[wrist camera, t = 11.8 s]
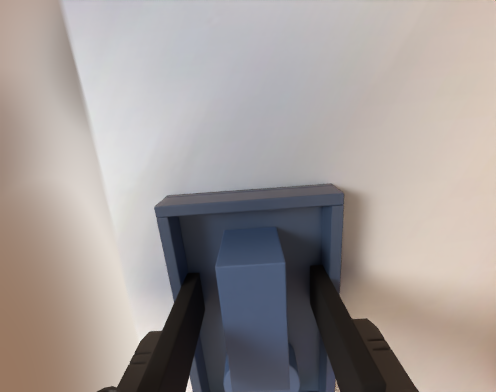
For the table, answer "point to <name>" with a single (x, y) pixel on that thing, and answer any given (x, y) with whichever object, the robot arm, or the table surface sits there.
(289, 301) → the blue tray
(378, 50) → the table surface
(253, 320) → the blue spoon
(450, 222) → the table surface
